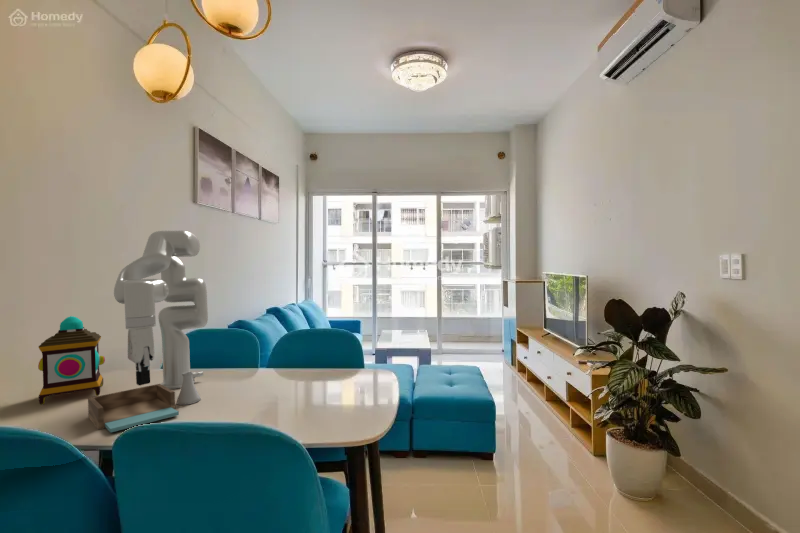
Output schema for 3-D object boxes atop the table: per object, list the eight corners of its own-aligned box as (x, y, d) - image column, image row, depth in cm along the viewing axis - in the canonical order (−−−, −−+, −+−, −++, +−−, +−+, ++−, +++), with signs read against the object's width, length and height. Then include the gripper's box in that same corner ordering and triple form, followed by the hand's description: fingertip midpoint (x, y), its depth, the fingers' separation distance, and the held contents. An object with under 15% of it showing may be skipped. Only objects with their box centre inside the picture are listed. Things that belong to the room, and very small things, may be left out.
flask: (190, 406, 134) (189, 375, 134) (171, 405, 136) (170, 375, 136) (205, 399, 141) (204, 370, 141) (187, 398, 143) (186, 370, 143)
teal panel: (170, 407, 129) (178, 411, 123) (170, 410, 129) (178, 414, 123) (104, 423, 116) (110, 428, 111) (104, 426, 116) (110, 432, 111)
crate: (160, 400, 141) (159, 383, 141) (175, 410, 130) (174, 391, 130) (88, 417, 127) (87, 398, 127) (98, 429, 116) (98, 408, 116)
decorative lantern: (103, 395, 151) (101, 315, 151) (33, 407, 140) (30, 320, 140) (107, 384, 168) (105, 312, 168) (44, 394, 157) (42, 316, 157)
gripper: (119, 321, 122) (122, 382, 123) (132, 326, 112) (135, 392, 112) (147, 318, 128) (150, 376, 128) (162, 322, 117) (165, 385, 118)
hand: (143, 383), depth 120 cm, fingers closed
